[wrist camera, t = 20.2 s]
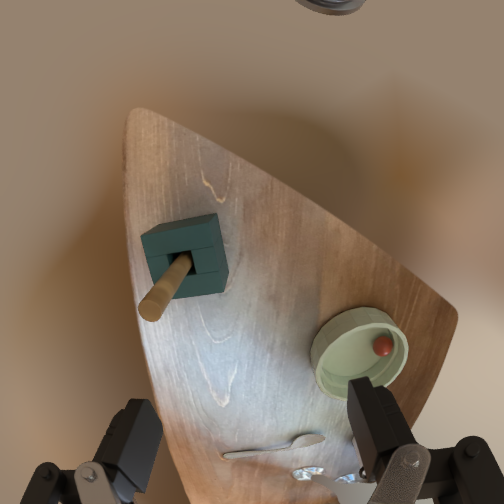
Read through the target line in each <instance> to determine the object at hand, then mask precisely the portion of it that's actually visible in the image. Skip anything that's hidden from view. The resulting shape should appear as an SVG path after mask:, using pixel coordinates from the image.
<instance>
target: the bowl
mask: <svg viewBox="0 0 504 504" xmlns="http://www.w3.org/2000/svg"><path fill="white" fill-rule="evenodd" d="M380 336H387V337H389V338H390V339H391V340H392V343H393V348H392V351H391V352H390V354H388V355H387V356H384V357H380V356H377V355H376V354H375V353H374V351H373V343H374V341H375V340H376V339H377V338H378V337H380ZM310 355H311V364H312V368H313V371H314V375H315V379H316V383H317V384H318V386H319V388H320V389H321V391H322V392H323V393H325V394H326V395H327V396H329V397H330V398H334V399H337V400H341V401H347V395H348V381H349V380H352V379H356V378H360V377H364V376H368V377H369V379H370V381H371V383H372V385H373V387H377V386H380V385H383V386H384V387H387V386H388V385H389V384H390V383H392V382H393V381H394V379H395V378H396V377H397V376H398V375H399V373H400V372H401V371H402V369H403V367H404V365H405V362H406V360H407V355H408V343H407V339H406V336H405V335H404V334H403V333H402V331H401V330H400V329H399V328H398V326H397V325H396V324H395V323H394V322H393V320H392V319H391V318H390V317H389V316H388V314H386V313H385V312H383V311H381V310H379V309H376V308H368V307H361V308H356V309H351V310H347V311H345V312H343V313H341V314H339V315H337V316H335V317H334V318H332V319H331V320H330V321H329V322H328V323H327V324H325V325H324V326H323V327H322V328H321V330H320V331H319V333H318V334H317V335H316V337H315V338H314V341H313V344H312V348H311V351H310Z"/></svg>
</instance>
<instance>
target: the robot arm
mask: <svg viewBox="0 0 504 504" xmlns="http://www.w3.org/2000/svg"><path fill="white" fill-rule="evenodd" d="M322 1H326V2H330V3H346V2H350V1H352V0H322ZM347 413H348V418H349V421H350V424H351V428H352V431H353V434H354V437H355V440H356V444H357V447H358V450H359V454H360V457H361V460H362V464H363V467H364V470H365V474H366V477H367V481H368V482H372V481H375V480H376V482H377V487H376V489H375V491H374V492H373V494H372V496H371V498H370V500H369V501H368V503H367V504H415V501H416V500H419V499H427V498H432V499H433V502H434V504H504V476H503V474H502V472H501V470H500V468H499V466H498V464H497V462H496V460H495V458H494V456H493V454H492V452H491V450H490V448H489V446H488V444H487V443H486V441H485V440H484V439H482V438H480V437H477V436H468V437H465V438H463V439H461V440H460V441H459V442H458V443H457V445H456V446H455V447H450V448H443V449H435V450H433V449H427V448H425V447H424V446H422V445H419V444H418V443H417V442H416V440H415V438H414V436H413V434H412V432H411V430H410V428H409V426H408V424H407V422H406V420H405V418H404V416H403V414H402V412H401V411H400V408H399V406H398V404H397V403H396V400H395V398H394V396H393V394H392V392H391V391H389V390H388V389H387V388H385V387H384V386H383V385H380V386H377V387H373V385H372V383H371V381H370V379H369V377H368V376H364V377H360V378H356V379H352V380H349V381H348V395H347ZM162 434H163V426H162V423H161V420H160V419H159V417H158V415H157V413H156V412H155V410H154V408H153V406H152V405H151V402H150V401H149V400H148V399H130V400H129V401H128V404H127V405H126V407H125V409H121V410H120V411H119V412H118V413H117V414H116V415H115V416H114V417H113V419H112V421H111V423H110V425H109V428H108V429H107V431H106V435H104V437H103V439H102V441H101V444H100V446H99V448H98V450H97V452H96V454H95V456H94V458H93V460H92V461H88V462H85V463H82V464H81V465H80V466H79V467H78V468H77V469H76V470H60V469H59V468H58V467H57V466H56V465H55V464H54V463H51V462H45V463H42V464H40V465H39V466H38V467H37V468H36V470H35V472H34V474H33V476H32V478H31V480H30V482H29V484H28V487H27V489H26V491H25V493H24V495H23V498H22V500H21V502H20V504H58V502H61V503H62V504H137V502H136V500H135V498H134V497H133V496H134V493H135V492H139V493H145V491H146V488H147V484H148V481H149V478H150V474H151V471H152V467H153V464H154V461H155V457H156V454H157V451H158V448H159V444H160V441H161V438H162Z"/></svg>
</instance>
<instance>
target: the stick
mask: <svg viewBox="0 0 504 504" xmlns="http://www.w3.org/2000/svg"><path fill="white" fill-rule="evenodd" d="M193 263H194V261H193V257H192V253H191V250H188V251H182V252H181V253H180V255H179V256H178V257H177V258H176V259H175V261H174V262H173V263H172V264H171V265H170V267H169V268H168V269H167V270H166V271H165V273H164V274H163V275H162V276H161V277H160V279H159V280H158V281H157V282H156V283H155V285H154V286H153V287H152V288H151V290H150V291H149V292H148V293H147V295H146V296H145V297H144V298H143V300H142V301H141V302H140V303H139V306H138V311H139V314H140V315H141V317H142V318H143V319H145V320H147V321H149V322H155V321H157V320H159V319H160V317H161V316H162V314H163V312H164V311H165V309H166V307H167V306H168V304H169V302H170V301H171V299H172V297H173V296H174V294H175V293H176V291H177V289H178V288H179V286H180V284H181V283H182V281H183V280H184V278H185V276H186V275H187V273H188V271H189V270H190V268H191V267H192V265H193Z"/></svg>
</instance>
